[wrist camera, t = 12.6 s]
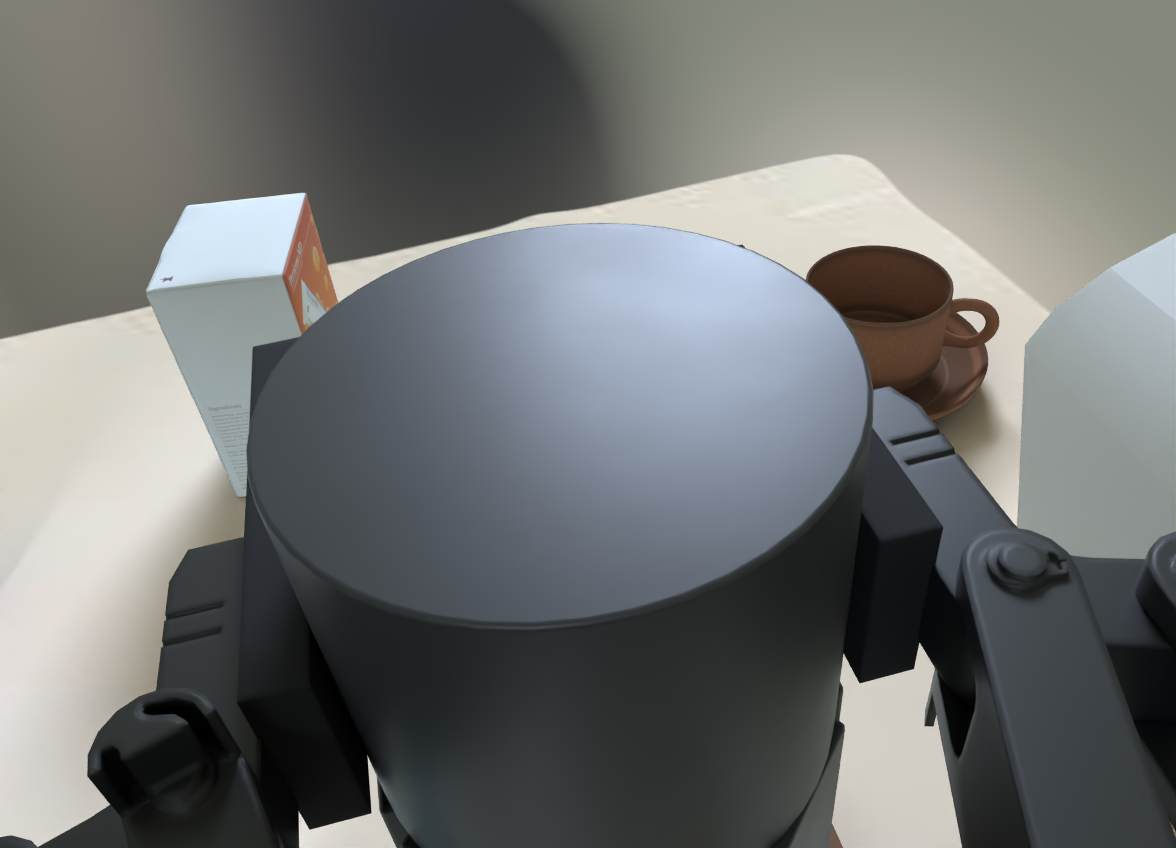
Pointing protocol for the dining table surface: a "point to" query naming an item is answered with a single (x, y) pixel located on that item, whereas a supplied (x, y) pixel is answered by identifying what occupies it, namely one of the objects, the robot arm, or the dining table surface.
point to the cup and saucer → (908, 323)
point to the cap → (579, 536)
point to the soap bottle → (1104, 413)
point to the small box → (237, 303)
